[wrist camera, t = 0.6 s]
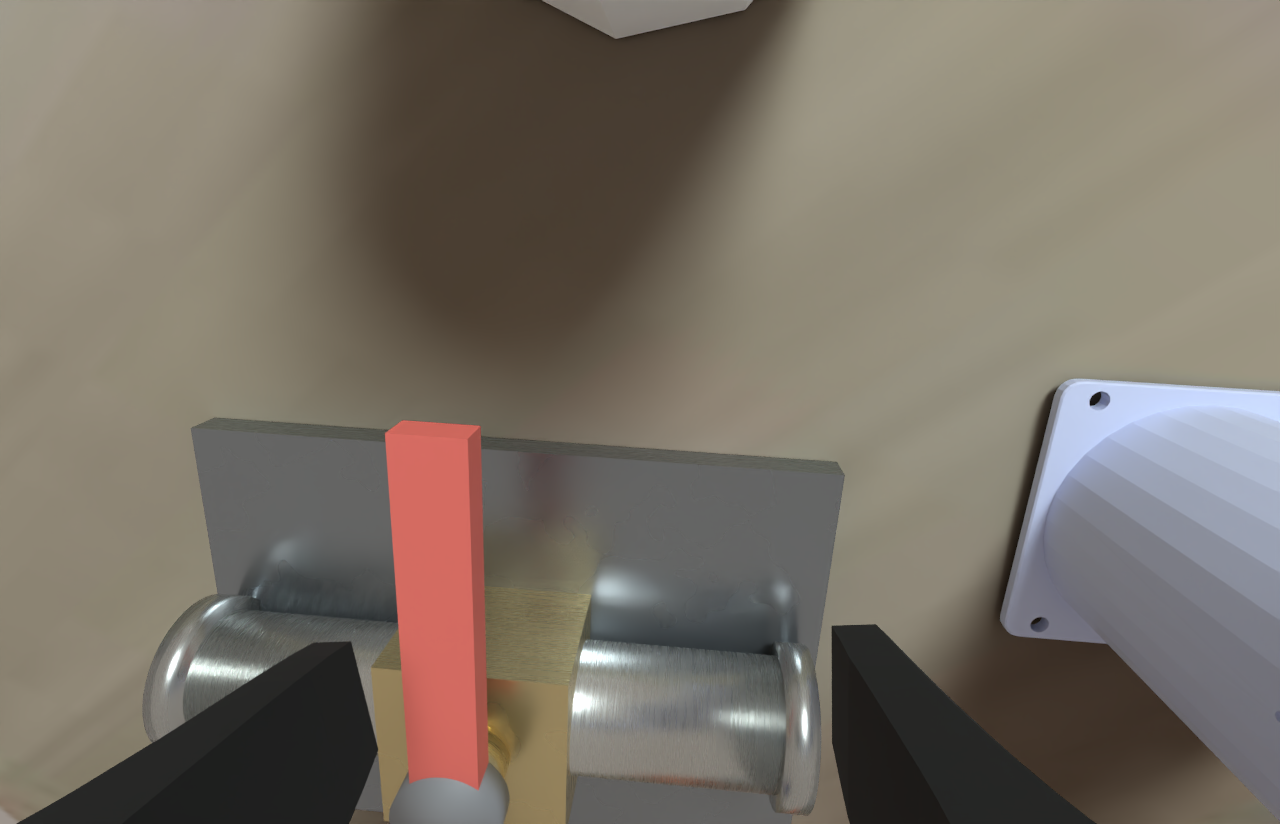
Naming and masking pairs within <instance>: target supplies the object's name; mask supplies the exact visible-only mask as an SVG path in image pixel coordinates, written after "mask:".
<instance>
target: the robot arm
mask: <svg viewBox="0 0 1280 824" xmlns="http://www.w3.org/2000/svg"><path fill="white" fill-rule="evenodd" d="M1097 392H1101V399H1100V401H1099V402H1098V403H1097V404H1095V405H1094V406H1090V403H1089V400H1090V398H1091V397H1092V395H1094V394H1095V393H1097ZM1038 617H1042V618H1041V620H1040V621H1039V622H1038V623H1036V624H1031V622H1032V620H1034V619H1035V618H1038ZM1000 621H1001V623H1002V625H1003V627H1004V628H1005V629H1006V630H1007V632H1009V633H1010V634H1011V635H1014V636H1019V637H1031V638H1043V639H1055V640H1066V641H1078V642H1090V643H1102V644H1108V645H1109V646H1110V647H1111V648H1112V649H1113V650H1114V651H1115V652H1116V653H1117V654H1118V655H1119V656H1120V657H1121V658H1122V660H1123V661H1124V662H1125V663H1126V664H1127V665H1128V666H1129V667H1130V668H1131V669H1132V670H1133V671H1134V672H1135V673H1136V674H1137V675H1138V676H1139V677H1140V678H1141V679H1142V680H1143V681H1144V682H1145V683H1146V684H1147V685H1148V686H1149V687H1150V688H1151V689H1152V690H1153V691H1154V692H1155V694H1156V695H1157V696H1158V697H1159V698H1160V699H1161V700H1162V701H1163V702H1164V703H1165V704H1166V705H1167V706H1168V707H1169V708H1170V709H1171V710H1172V711H1173V712H1174V713H1175V714H1176V715H1177V716H1178V717H1179V718H1180V719H1181V720H1182V721H1183V722H1184V723H1185V724H1186V725H1187V726H1188V728H1189V729H1190V730H1191V731H1192V732H1193V733H1194V734H1195V735H1196V736H1197V737H1198V738H1199V739H1200V740H1201V741H1202V742H1203V743H1204V744H1205V745H1206V746H1207V747H1208V748H1209V749H1210V750H1211V751H1212V752H1213V753H1214V754H1215V755H1216V756H1217V757H1218V758H1219V759H1220V760H1221V762H1222V763H1223V764H1224V765H1225V766H1226V767H1227V768H1228V769H1229V770H1230V771H1231V772H1232V773H1233V774H1234V775H1235V776H1236V777H1237V778H1238V779H1239V780H1240V781H1241V782H1242V783H1243V784H1244V785H1245V786H1246V787H1247V788H1248V789H1249V790H1250V791H1251V792H1252V793H1253V794H1254V795H1255V797H1256V798H1257V799H1258V800H1259V801H1260V802H1261V803H1262V804H1263V805H1264V806H1265V807H1266V808H1267V809H1268V810H1269V811H1270V812H1271V813H1272V814H1273V815H1274V816H1275V817H1276V818H1277V819H1278V820H1279V821H1280V391H1267V390H1251V389H1235V388H1219V387H1204V386H1188V385H1172V384H1156V383H1140V382H1125V381H1109V380H1093V379H1070V380H1068V381H1066V382H1064V383H1062V384H1061V385H1060V386H1059V387H1058V389H1057V391H1056V393H1055V395H1054V399H1053V403H1052V407H1051V411H1050V415H1049V419H1048V423H1047V427H1046V431H1045V435H1044V439H1043V444H1042V448H1041V452H1040V456H1039V460H1038V464H1037V468H1036V472H1035V476H1034V480H1033V484H1032V488H1031V492H1030V496H1029V500H1028V504H1027V508H1026V512H1025V516H1024V521H1023V525H1022V529H1021V533H1020V537H1019V541H1018V545H1017V549H1016V553H1015V557H1014V561H1013V565H1012V569H1011V573H1010V577H1009V581H1008V585H1007V589H1006V593H1005V598H1004V602H1003V606H1002V610H1001V614H1000ZM832 744H833V749H834V753H835V758H836V763H837V768H838V773H839V778H840V783H841V787H842V792H843V796H844V801H845V806H846V810H847V815H848V819H849V822H850V824H1096V823H1095V822H1093V821H1092V820H1091V819H1089V818H1088V817H1087V816H1085V815H1084V814H1083V813H1082V812H1080V811H1079V810H1078V809H1076V808H1075V807H1074V806H1073V805H1071V804H1070V803H1069V802H1068V801H1066V800H1065V799H1064V798H1062V797H1061V796H1060V795H1059V794H1058V793H1056V792H1055V791H1054V790H1053V789H1051V788H1050V787H1049V786H1048V785H1047V784H1046V783H1044V782H1043V781H1042V780H1041V779H1040V778H1038V777H1037V776H1036V775H1035V774H1034V773H1032V772H1031V771H1030V770H1029V769H1028V768H1026V767H1025V766H1024V765H1023V764H1022V763H1020V762H1019V761H1018V760H1017V759H1016V758H1015V757H1014V756H1012V755H1011V754H1010V753H1009V752H1008V751H1007V750H1006V749H1004V748H1003V747H1002V746H1001V745H1000V744H999V743H998V742H997V741H995V740H994V739H993V738H992V737H991V736H990V735H989V734H988V733H987V732H986V731H985V730H984V729H982V728H981V727H980V726H979V725H978V724H977V723H976V722H975V721H974V720H973V719H972V718H971V717H969V716H968V715H967V714H966V713H965V712H964V711H963V710H962V709H961V708H960V707H959V706H958V705H957V704H955V703H954V702H953V701H952V700H951V699H950V698H949V697H948V696H947V695H946V694H945V693H944V692H943V691H942V690H941V689H940V688H939V687H938V686H937V685H936V684H935V683H934V682H933V681H932V680H931V679H930V678H929V677H928V676H927V675H926V674H925V673H924V672H923V671H922V670H921V669H920V668H919V667H918V666H917V665H916V664H915V663H914V662H913V661H912V660H911V659H910V658H909V657H908V656H907V655H906V654H905V653H904V652H903V651H902V650H901V649H900V648H899V647H898V646H897V645H896V644H895V643H894V642H893V641H892V640H891V639H890V638H889V637H888V636H887V635H886V634H885V633H884V632H883V631H882V630H881V629H880V628H879V627H878V626H877V625H876V624H874V625H843V626H832ZM377 752H378V746H377V742H376V738H375V734H374V730H373V726H372V722H371V718H370V714H369V710H368V706H367V702H366V698H365V694H364V690H363V687H362V683H361V679H360V675H359V671H358V667H357V663H356V659H355V655H354V651H353V647H352V643H351V641H346V642H315V643H312V644H310V645H308V646H306V647H304V648H303V649H301V650H299V651H297V652H295V653H294V654H292V655H290V656H289V657H287V658H285V659H284V660H282V661H280V662H279V663H277V664H275V665H274V666H272V667H271V668H269V669H267V670H266V671H264V672H263V673H261V674H259V675H258V676H256V677H255V678H253V679H252V680H250V681H249V682H247V683H245V684H244V685H242V686H241V687H239V688H238V689H236V690H235V691H233V692H231V693H230V694H228V695H227V696H225V697H224V698H222V699H221V700H219V701H218V702H216V703H214V704H213V705H211V706H210V707H208V708H207V709H205V710H204V711H202V712H200V713H199V714H197V715H196V716H194V717H193V718H191V719H190V720H188V721H186V722H185V723H183V724H182V725H180V726H179V727H177V728H176V729H174V730H172V731H171V732H169V733H168V734H166V735H165V736H163V737H162V738H160V739H158V740H157V741H155V742H153V743H152V744H150V745H148V746H147V747H145V748H144V749H142V750H140V751H139V752H137V753H135V754H134V755H132V756H130V757H129V758H127V759H126V760H124V761H122V762H121V763H119V764H117V765H116V766H114V767H112V768H111V769H109V770H107V771H106V772H104V773H103V774H101V775H99V776H98V777H96V778H94V779H93V780H91V781H89V782H88V783H86V784H85V785H83V786H81V787H80V788H78V789H76V790H75V791H73V792H71V793H70V794H68V795H66V796H64V797H63V798H61V799H59V800H58V801H56V802H54V803H52V804H51V805H49V806H47V807H45V808H44V809H42V810H40V811H38V812H36V813H35V814H33V815H31V816H29V817H28V818H26V819H24V820H22V821H20V822H19V823H17V824H349V822H350V820H351V818H352V815H353V813H354V810H355V808H356V806H357V803H358V801H359V798H360V796H361V794H362V791H363V789H364V786H365V784H366V781H367V779H368V776H369V773H370V771H371V768H372V765H373V763H374V760H375V757H376V755H377Z"/></svg>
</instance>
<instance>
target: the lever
mask: <svg viewBox="0 0 1280 824" xmlns="http://www.w3.org/2000/svg"><path fill="white" fill-rule="evenodd" d="M385 442H386V456H387V470H388V485H389V499H390V513H391V528H392V542H393V556H394V570H395V585H396V599H397V613H398V628H399V642H400V656H401V670H402V685H403V699H404V713H405V728H406V742H407V756H408V770H409V771H408V773H407V775H406V777H405V779H404V781H403V783H402V785H401V787H400V789H399V791H398V793H397V795H396V797H395V799H394V801H393V803H392V805H391V808H390V812H389V823H390V824H504V820H505V817H506V814H507V810H508V807H509V801H510V796H509V790H508V786H507V784H506V782H505V780H504V778H503V777H502V775H501V774H500V773H499V771H498V770H497V769H496V768H495V767H494V766H492V765H491V764H490V763H489V756H488V715H487V673H486V631H485V589H484V548H483V506H482V464H481V426H475V425H461V424H447V423H433V422H418V421H404V420H402V421H401V422H400V423H398V424H397V425H395V426H394V427H393V428H391V429H390V430H389V431H387V432H386V433H385Z"/></svg>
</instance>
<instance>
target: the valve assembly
mask: <svg viewBox="0 0 1280 824" xmlns="http://www.w3.org/2000/svg"><path fill="white" fill-rule="evenodd" d="M387 431H389V430H378V429H364V428H350V427H336V426H322V425H308V424H294V423H280V422H266V421H252V420H238V419H224V418H213V419H210V420H208V421H206V422H204V423H201V424H199V425H197V426H194V427H192V428H191V432H192V438H193V444H194V450H195V457H196V463H197V469H198V475H199V481H200V487H201V493H202V500H203V506H204V512H205V518H206V524H207V530H208V537H209V543H210V549H211V555H212V561H213V567H214V573H215V580H216V586H217V592H218V594H215V595H211V596H208V597H205V598H203V599H201V600H199V601H198V602H196V603H195V604H194V605H192V606H191V607H190V608H189V609H187V610H186V611H185V612H184V613H183V614H182V615H181V616H180V617H179V618H178V619H177V621H176V622H175V623H174V624H173V626H172V627H171V628H170V630H169V631H168V633H167V634H166V636H165V637H164V639H163V641H162V643H161V644H160V646H159V648H158V650H157V652H156V654H155V657H154V659H153V661H152V664H151V667H150V670H149V672H148V676H147V680H146V684H145V689H144V694H143V721H144V727H145V730H146V733H147V735H148V737H149V739H150V741H151V742H152V743H153V742H155V741H157V740H158V739H160V738H162V737H163V736H165V735H166V734H168V733H169V732H171V731H172V730H174V729H176V728H177V727H179V726H180V725H182V724H183V723H185V722H186V721H188V720H190V719H191V718H193V717H194V716H196V715H197V714H199V713H200V712H202V711H204V710H205V709H207V708H208V707H210V706H211V705H213V704H214V703H216V702H218V701H219V700H221V699H222V698H224V697H225V696H227V695H228V694H230V693H231V692H233V691H235V690H236V689H238V688H239V687H241V686H242V685H244V684H245V683H247V682H249V681H250V680H252V679H253V678H255V677H256V676H258V675H259V674H261V673H263V672H264V671H266V670H267V669H269V668H271V667H272V666H274V665H275V664H277V663H279V662H280V661H282V660H284V659H285V658H287V657H289V656H290V655H292V654H294V653H295V652H297V651H299V650H301V649H303V648H304V647H306V646H308V645H310V644H312V643H315V642H346V641H351V643H352V647H353V651H354V655H355V659H356V663H357V667H358V671H359V675H360V679H361V683H362V687H363V690H364V694H365V698H366V702H367V706H368V710H369V714H370V718H371V722H372V726H373V730H374V734H375V738H376V742H377V746H378V752H377V755H376V757H375V760H374V763H373V765H372V768H371V771H370V773H369V776H368V779H367V781H366V784H365V786H364V789H363V791H362V794H361V796H360V798H359V801H358V803H357V806H356V808H355V809H358V810H368V811H378V812H383V815H384V821H389V812H390V808H391V805H392V803H393V801H394V799H395V797H396V795H397V793H398V791H399V789H400V787H401V785H402V783H403V781H404V779H405V777H406V775H407V773H408V771H409V770H408V756H407V742H406V728H405V713H404V699H403V685H402V670H401V656H400V642H399V628H398V613H397V599H396V585H395V570H394V556H393V542H392V528H391V513H390V499H389V485H388V470H387V456H386V442H385V433H386V432H387ZM481 464H482V506H483V548H484V589H485V631H486V673H487V715H488V756H489V763H490V764H491V765H492V766H494V767H495V768H496V769H497V770H498V771H499V773H500V774H501V775H502V777H503V778H504V780H505V782H506V784H507V786H508V790H509V796H510V801H509V807H508V810H507V814H506V817H505V820H504V824H791V821H792V814H795V815H805V816H808V815H809V814H810V813H811V811H812V809H813V807H814V803H815V800H816V795H817V790H818V783H819V773H820V759H821V715H820V702H819V694H818V685H817V679H816V673H815V665H816V658H817V652H818V645H819V639H820V632H821V626H822V619H823V613H824V606H825V600H826V593H827V587H828V580H829V574H830V567H831V561H832V554H833V548H834V541H835V535H836V528H837V522H838V515H839V509H840V502H841V496H842V489H843V483H844V476H845V475H844V473H843V472H842V470H841V468H840V467H839V465H838V463H837V462H828V461H814V460H800V459H786V458H772V457H758V456H744V455H730V454H716V453H702V452H688V451H674V450H659V449H645V448H631V447H617V446H603V445H589V444H575V443H561V442H547V441H533V440H519V439H505V438H491V437H481Z"/></svg>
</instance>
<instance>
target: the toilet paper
mask: <svg viewBox="0 0 1280 824" xmlns="http://www.w3.org/2000/svg"><path fill="white" fill-rule="evenodd" d="M542 1H544V2H546V3H548V4H550V5H552V6H554V7H556V8H557V9H559V10H561V11H563V12H565V13H567V14H569V15H571V16H573V17H575V18H577V19H579V20H581V21H582V22H584V23H586V24H588V25H590V26H592V27H594V28H596V29H598V30H600V31H602V32H604V33H606V34H607V35H609V36H611V37H613V38H615V39H618V38H622V37H627V36H631V35H636V34H640V33H645V32H649V31H653V30H658V29H662V28H667V27H671V26H676V25H680V24H685V23H689V22H693V21H698V20H702V19H707V18H711V17H716V16H720V15H725V14H729V13H733V12H738V11H742V10H745V9H746V8H747V7H748V6H749V5H750V4H751V2H752V1H753V0H542Z"/></svg>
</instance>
